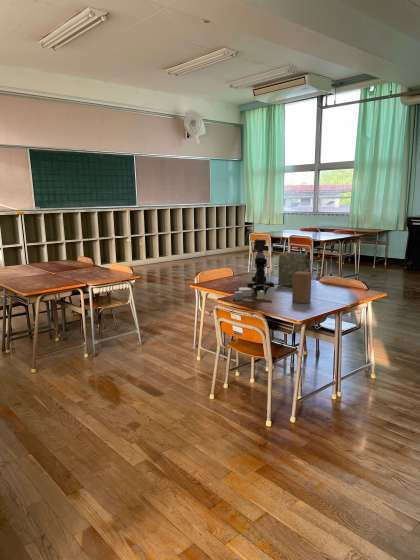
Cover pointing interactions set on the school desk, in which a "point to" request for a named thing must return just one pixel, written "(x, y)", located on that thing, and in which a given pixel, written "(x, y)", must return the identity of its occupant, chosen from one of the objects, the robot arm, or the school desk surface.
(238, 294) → the grey cube
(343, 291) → the school desk surface
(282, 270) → the bag
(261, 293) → the green cube
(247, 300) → the board
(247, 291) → the plinth
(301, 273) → the block
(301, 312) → the school desk surface
